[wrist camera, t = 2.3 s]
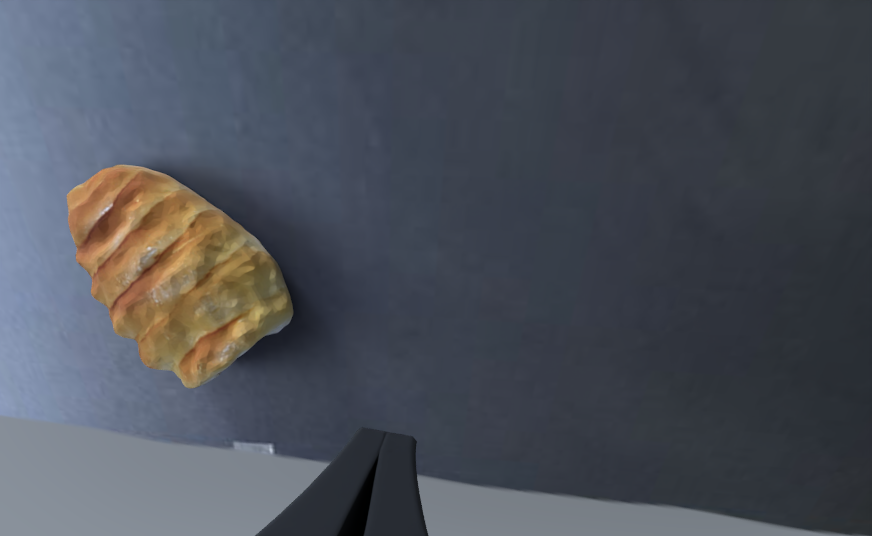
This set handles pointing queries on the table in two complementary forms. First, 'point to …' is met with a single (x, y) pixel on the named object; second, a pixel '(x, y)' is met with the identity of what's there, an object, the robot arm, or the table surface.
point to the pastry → (175, 272)
